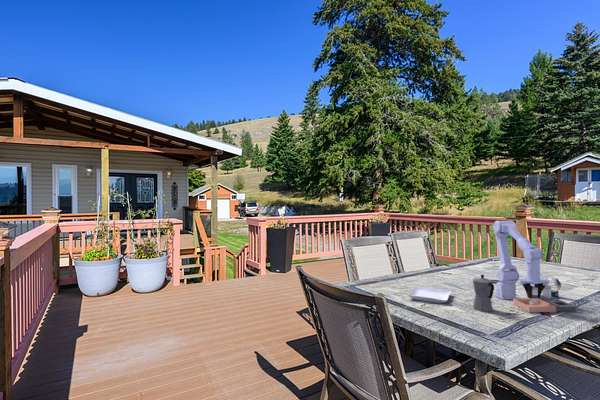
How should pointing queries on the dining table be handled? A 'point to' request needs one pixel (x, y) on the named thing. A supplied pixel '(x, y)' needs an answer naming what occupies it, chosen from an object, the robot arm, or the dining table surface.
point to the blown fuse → (534, 296)
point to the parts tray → (529, 308)
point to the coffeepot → (483, 294)
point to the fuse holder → (559, 304)
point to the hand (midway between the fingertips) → (533, 297)
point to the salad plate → (430, 294)
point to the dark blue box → (557, 283)
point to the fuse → (547, 292)
